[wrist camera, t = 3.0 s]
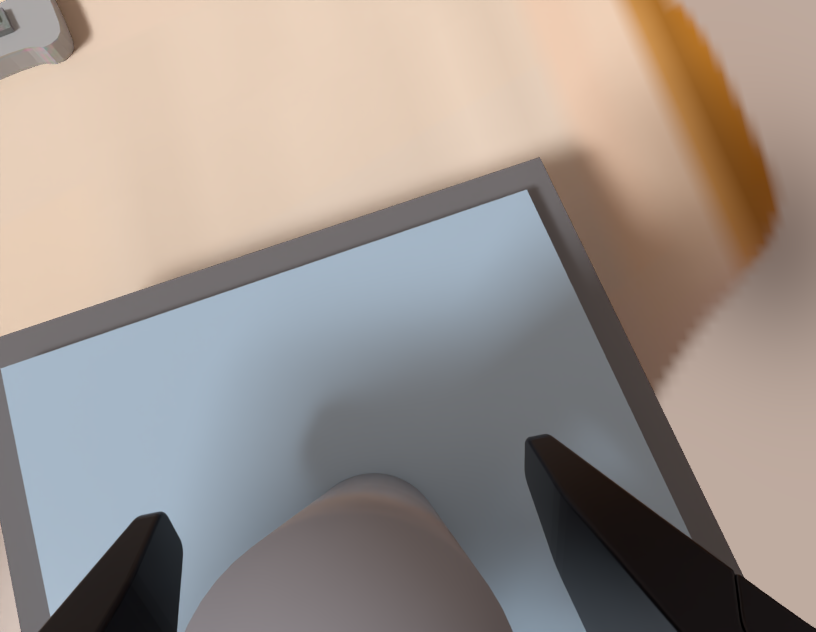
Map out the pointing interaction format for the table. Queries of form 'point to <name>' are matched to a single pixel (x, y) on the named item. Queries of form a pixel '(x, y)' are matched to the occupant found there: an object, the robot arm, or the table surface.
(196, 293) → the gray square slab
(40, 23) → the office telephone
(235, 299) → the square plate with knob
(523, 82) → the table surface
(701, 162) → the table surface
